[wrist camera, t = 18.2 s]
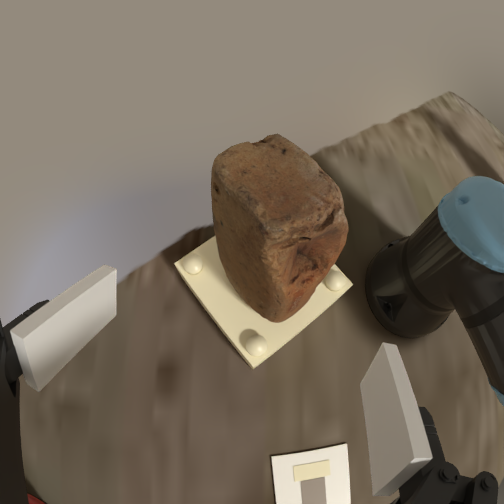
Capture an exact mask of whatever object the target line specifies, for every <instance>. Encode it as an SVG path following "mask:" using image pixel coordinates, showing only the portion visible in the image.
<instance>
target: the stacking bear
mask: <svg viewBox="0 0 504 504" xmlns="http://www.w3.org/2000/svg"><path fill="white" fill-rule="evenodd" d="M27 495H28V501H29V504H45V503H44V502H42V501H41V500H39V499H37V498H36V497H34V496H32V495H30V494H27Z"/></svg>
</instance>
